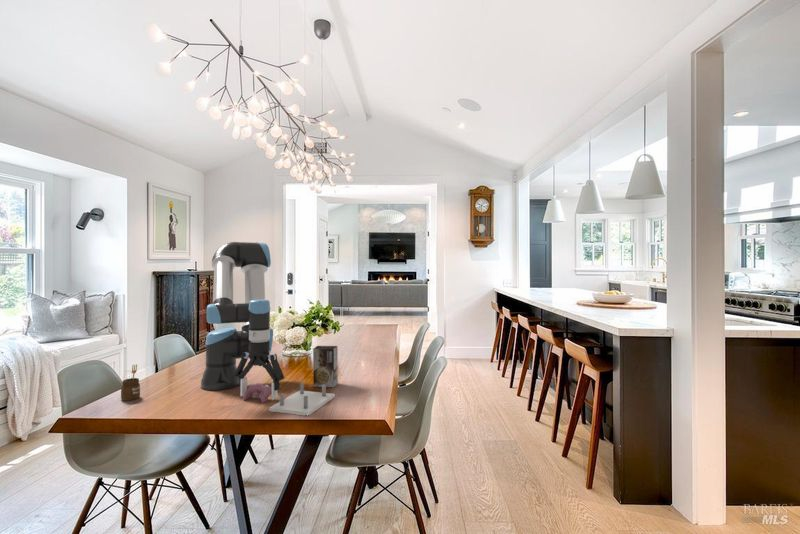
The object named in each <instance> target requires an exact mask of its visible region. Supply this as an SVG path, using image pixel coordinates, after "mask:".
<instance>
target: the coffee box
mask: <svg viewBox="0 0 800 534" xmlns="http://www.w3.org/2000/svg"><path fill="white" fill-rule="evenodd" d="M312 357H313V358H312V359H313V360H312V363H313V364H312V366H313V367H312V368H313V369H312V370H313V373H312V374H313V377H312V379H313V381H312V382H313V383H312V385H313V386H312V387H314V388H322V385H326V388H335V387H336V386H337V385H338V382H339V381H338V379H339V378H338V376H339V375H338V369H339V368H338V366H339V365H338V345H317V346H315V347H313V348H312Z"/></svg>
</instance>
